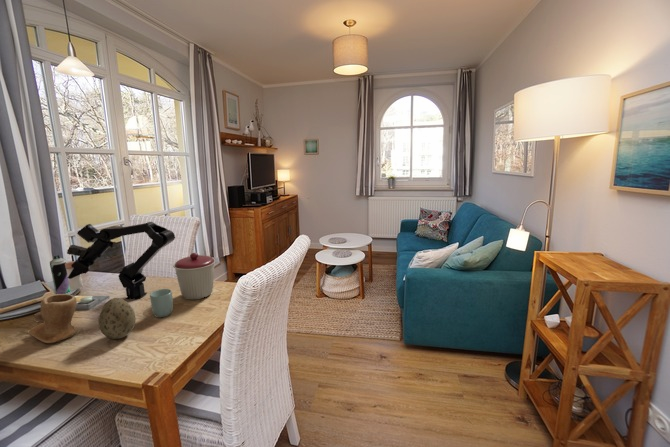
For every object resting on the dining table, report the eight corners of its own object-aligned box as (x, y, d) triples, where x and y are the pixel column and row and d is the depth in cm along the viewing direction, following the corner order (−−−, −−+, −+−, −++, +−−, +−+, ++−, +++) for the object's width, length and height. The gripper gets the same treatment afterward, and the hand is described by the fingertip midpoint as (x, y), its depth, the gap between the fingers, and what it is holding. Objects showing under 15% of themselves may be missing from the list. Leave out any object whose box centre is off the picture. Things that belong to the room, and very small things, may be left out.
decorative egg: (128, 325, 118) (123, 289, 115) (143, 334, 113) (138, 296, 110) (95, 339, 109) (89, 300, 106) (110, 349, 104) (104, 308, 101)
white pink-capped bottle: (85, 285, 139) (81, 260, 137) (77, 290, 135) (72, 264, 132) (75, 285, 139) (71, 261, 137) (67, 290, 135) (62, 264, 132)
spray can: (62, 299, 140) (54, 257, 136) (53, 298, 141) (45, 256, 137) (74, 294, 145) (67, 254, 141) (65, 293, 146) (58, 253, 142)
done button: (94, 299, 135) (94, 296, 135) (87, 303, 131) (87, 300, 131) (85, 299, 135) (85, 296, 135) (78, 303, 131) (77, 300, 131)
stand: (68, 313, 127) (66, 306, 127) (52, 321, 121) (51, 314, 120) (51, 313, 127) (49, 306, 127) (35, 321, 121) (33, 314, 120)
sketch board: (109, 297, 142) (108, 293, 142) (89, 309, 130) (88, 305, 130) (75, 297, 142) (74, 293, 142) (51, 309, 130) (50, 305, 130)
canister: (172, 294, 146) (167, 252, 142) (210, 284, 158) (207, 245, 153) (182, 307, 133) (177, 262, 128) (223, 296, 144) (220, 253, 140)
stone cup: (87, 332, 114) (81, 295, 111) (46, 349, 103) (38, 308, 100) (68, 322, 121) (62, 286, 118) (28, 336, 110) (20, 298, 107)
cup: (176, 314, 127) (174, 292, 125) (156, 321, 121) (153, 298, 119) (169, 308, 132) (167, 287, 130) (149, 315, 126) (147, 292, 124)
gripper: (84, 234, 142) (58, 260, 139) (73, 243, 126) (43, 273, 123) (107, 248, 147) (82, 273, 145) (100, 259, 131) (71, 287, 128)
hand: (70, 276), depth 135 cm, fingers closed on white pink-capped bottle, 4 cm apart
